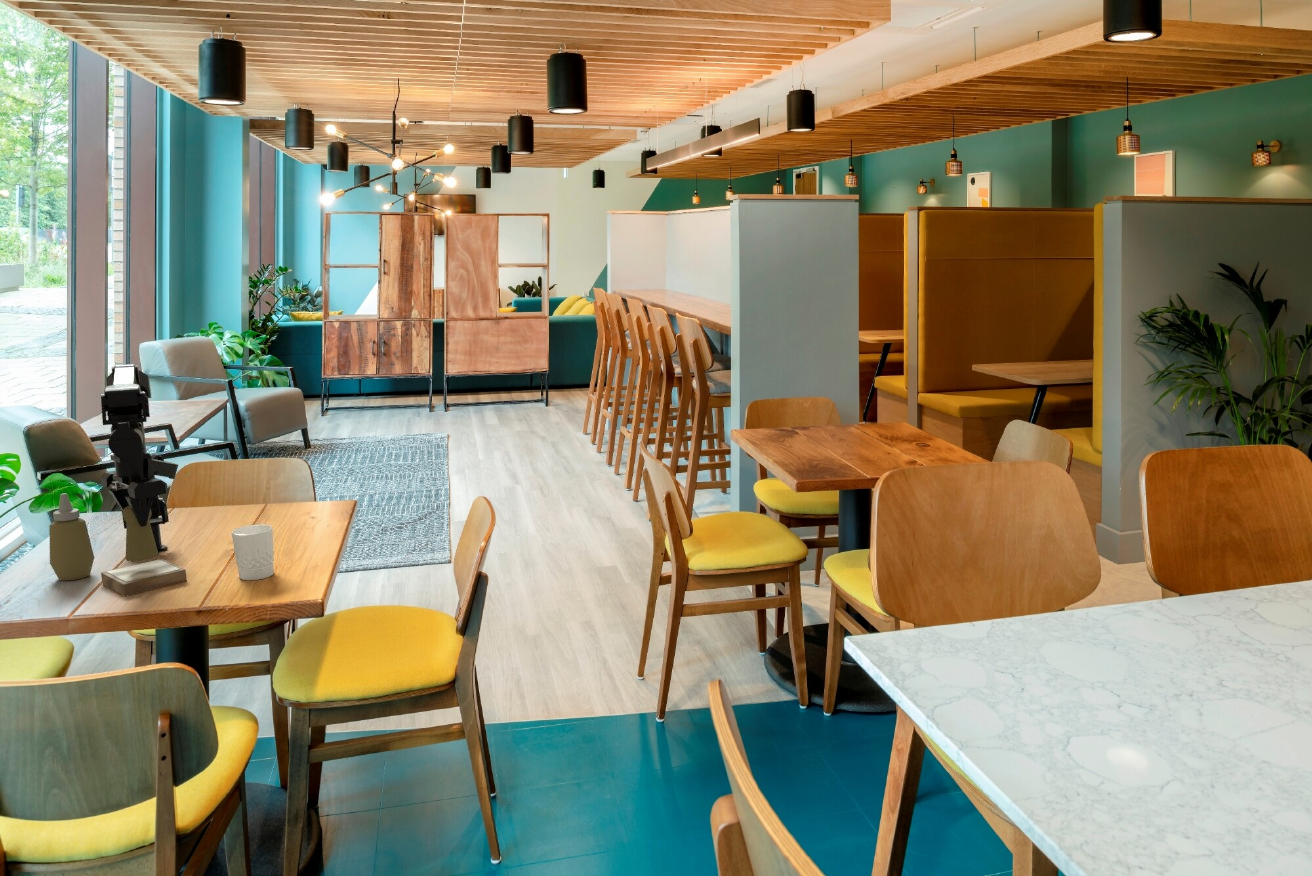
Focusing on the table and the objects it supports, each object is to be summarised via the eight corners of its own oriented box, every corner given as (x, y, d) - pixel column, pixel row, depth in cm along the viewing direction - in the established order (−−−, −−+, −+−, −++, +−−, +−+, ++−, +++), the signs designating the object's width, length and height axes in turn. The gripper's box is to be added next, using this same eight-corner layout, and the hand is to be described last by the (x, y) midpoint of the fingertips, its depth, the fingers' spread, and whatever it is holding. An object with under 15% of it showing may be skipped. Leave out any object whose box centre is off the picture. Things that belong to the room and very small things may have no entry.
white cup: (284, 571, 206) (280, 526, 204) (258, 583, 198) (254, 536, 197) (254, 568, 208) (250, 523, 207) (227, 579, 201) (223, 533, 199)
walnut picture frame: (102, 584, 200) (100, 571, 199) (162, 569, 208) (161, 557, 208) (125, 596, 192) (123, 583, 191) (186, 581, 200) (185, 568, 200)
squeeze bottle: (50, 585, 199) (39, 500, 196) (53, 574, 206) (42, 492, 203) (95, 579, 203) (85, 495, 200) (97, 568, 210) (86, 487, 207)
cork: (144, 562, 196) (138, 509, 194) (118, 560, 197) (112, 508, 195) (165, 553, 202) (159, 501, 200) (139, 552, 203) (133, 501, 201)
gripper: (190, 448, 195) (198, 523, 198) (152, 438, 207) (160, 509, 210) (131, 457, 187) (140, 535, 190) (95, 446, 199) (104, 519, 202)
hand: (138, 524), depth 198 cm, fingers closed on cork, 5 cm apart
